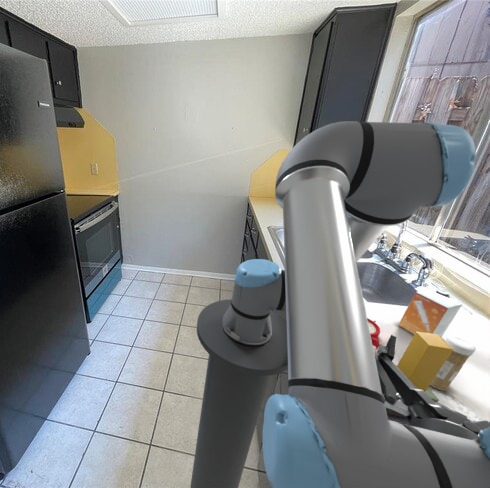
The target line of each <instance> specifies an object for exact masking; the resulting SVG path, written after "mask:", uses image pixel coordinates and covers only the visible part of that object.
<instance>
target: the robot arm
mask: <svg viewBox="0 0 490 488" xmlns="http://www.w3.org/2000/svg"><path fill="white" fill-rule="evenodd" d="M476 156H477V152H476V144H475V141H474V139H473V137H472V136H471V134H470V133H469V131H467V130H466V129H464V128H463V127H461V126H459V125H458V126H457V125H455V124H454V125H453V124H444V123H443V124H441V123H434V122H431V121H425V122H423V123H422V122H384V121H383V122H381V121H379V122H378V121H356V120H347V121H346V120H343V121H337V122H333V123H329V124H325V125H324V126H322V127H319V128H317V129H315V130H313V131H312V132H310V133H309V134H307V135H306V136H304V137H303V138H302V139H300V140H299V141H298V142H297V143H296V144H295V145H293V147H292V148H291V149H290V151H288V153H287V154H286V155H285V157H284V159H283V161H282V162H281V163H280V166H279V169H278V171H277V174H276V179H275V188H274V189H275V194H274V195H275V201H276V203H277V205H278V206H279V207H280V208H281V209H282V222H283V223H282V224H283V250H284V251H283V253H284V256H283V257H284V269H281V266H280V265H279V264H278V263H276V262H275V261H271V260H269V259H264V258H254V259H247V260H245V261H243V262H241V263H240V264H238V267H237V269H236V274H235V276H234V277H233V279H234V281H233V282H234V284H233V290H232V296H231V299H232V300H231V299H230V300H231V305H230V306H229V308H228V309H227V311H226V313H225V314H224V316H223V319H222V329H223V331H224V333H225V334H226V335H227V336H228V337H229V338H230V339H231V340H233V341H234V342H236V343H239V344H241V345H244V346H249V347H259V346H263V345H265V344H267V343H268V342H269V341H270V339H271V335H272V326H271V319H270V312H271V310H273V311H274V310H276V311H281V312H285V313H286V314H285V316H286V319H285V320H286V321H287V350H288V369H287V376H288V380H287V381H288V383H287V386H288V387H287V388H288V391H287V393H285V394H280V393H275V394H271V396H270V397H269V398H268V399H267V401H266V404H265V407H264V413H263V416H264V417H263V424H262V456H263V464H264V469H265V474H266V477H267V480H268V482H269V485H270V486H271V487H272V488H490V421H488V420H486V419H485V420H477V421H472V420H470V419H469V418H468V416H467V415H465V414H463V413H461V412H458V411H456V410H454V409H451V408H449V407H448V406H446V405H444V404H443V403H440V402H439V401H438V402H436V401H435V402H434V401H433V400H432V399H431V398H430V397H429V396H428V395H427V394H426V393H425V392H424V391H423V390H419V389H418V388H417V387H416V386H415V385H414V384H413V383H412V382H411V381H410V380H409V379H408V378H407V377H406V376H405V374H404V373H403V372H402V371H401V370H400V369H399V368H398V367H397V364H395V363H394V362H393V360H394V359H395V355H396V346H397V345H396V344H397V336H395V335H392V334H391V335H390V337H389V338H388V340H387V343H386V344H385V345H384V344H380V345H379V347H378V349H377V351H376V353H374V350H373V345H372V340H371V335H370V330H369V325H368V320H367V318H368V315H367V310H366V306H365V300H364V295H363V290H362V285H361V279H360V276H359V271H358V265H357V263H358V262H359V260H360V259H361V258H362V256H364V254H365V253H366V252H368V250H369V249H370V247H372V245H373V244H374V243H375V242H376V241H377V240H378V238H380V237H381V235H382V234H383V233H384V232H385V230H387V228H388V227H392V226H394V227H395V226H398V225H401V224H404V223H406V222H407V221H408V220H409V219H410V218H411V217H413V215H414V214H415V213H416V212H417V211H418V210H419V209H420V208H421V207H428V208H436V207H442V206H443V207H444V206H446V205H448V204H450V203H452V202H453V201H454V200H456V199H457V198H459V196H460V195H461V194H462V193H463V192H464V190H465V189H466V188H467V186H468V184H469V183H470V181H471V178H472V176H473V173H474V169H475V166H476V162H475V160H476ZM396 392H397V393H398V394H397V393H396ZM400 397H402V399H403V400H404V403H403V402H402V401H401V399H400ZM420 401H422V403H420ZM391 410H394V411H396V412H398V413H400V414H403V415H405V416H406V418H405V419H406V420H407V422H408V424H406V423H402V422H399V421H395V420H390V419H389V417H388V414H387V412H390V411H391Z"/></svg>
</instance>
